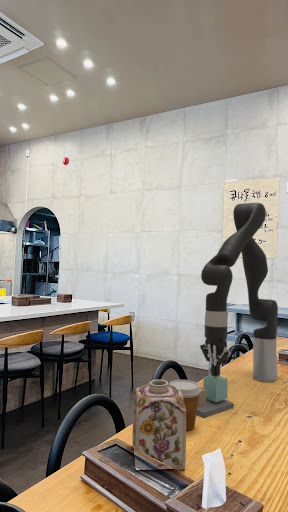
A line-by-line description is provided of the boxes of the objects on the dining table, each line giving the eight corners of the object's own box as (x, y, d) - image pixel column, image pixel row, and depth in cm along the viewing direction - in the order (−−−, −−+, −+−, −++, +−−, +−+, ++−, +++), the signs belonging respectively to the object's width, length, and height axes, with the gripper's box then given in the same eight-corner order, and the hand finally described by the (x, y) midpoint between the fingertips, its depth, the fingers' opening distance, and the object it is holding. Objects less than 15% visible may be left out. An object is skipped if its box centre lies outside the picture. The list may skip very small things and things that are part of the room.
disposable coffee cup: (202, 422, 102) (203, 381, 102) (196, 437, 93) (197, 392, 93) (171, 417, 105) (172, 377, 105) (163, 431, 96) (163, 387, 96)
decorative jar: (186, 471, 77) (187, 390, 78) (134, 472, 76) (136, 390, 77) (176, 444, 89) (178, 374, 89) (132, 445, 88) (133, 374, 89)
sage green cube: (214, 393, 119) (215, 374, 119) (227, 398, 114) (227, 378, 114) (203, 396, 115) (203, 376, 116) (215, 402, 111) (216, 381, 111)
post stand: (211, 398, 121) (211, 373, 121) (233, 407, 113) (233, 381, 113) (181, 406, 113) (181, 380, 113) (203, 417, 105) (203, 389, 105)
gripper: (239, 326, 113) (238, 379, 112) (209, 320, 123) (208, 369, 123) (223, 328, 108) (222, 383, 108) (194, 322, 119) (193, 372, 118)
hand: (215, 375), depth 115 cm, fingers closed
